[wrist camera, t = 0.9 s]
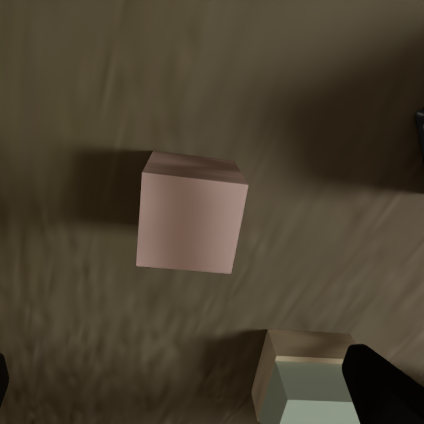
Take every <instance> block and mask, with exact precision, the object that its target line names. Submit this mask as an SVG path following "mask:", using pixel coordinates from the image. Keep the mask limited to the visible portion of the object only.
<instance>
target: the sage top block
mask: <svg viewBox="0 0 424 424" xmlns="http://www.w3.org/2000/svg"><path fill="white" fill-rule="evenodd" d="M259 421H260V424H360V422H359V419H358V416H357V414H356V411H355V408H354V405H353V402H352V399H351V397H350V394H349V391H348V388H347V385H346V382H345V380H344V377H343V374H342V364H325V363H306V362H287V361H275V364H274V368H273V371H272V374H271V378H270V381H269V384H268V388H267V391H266V394H265V398H264V401H263V404H262V408H261V411H260V414H259Z"/></svg>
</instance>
